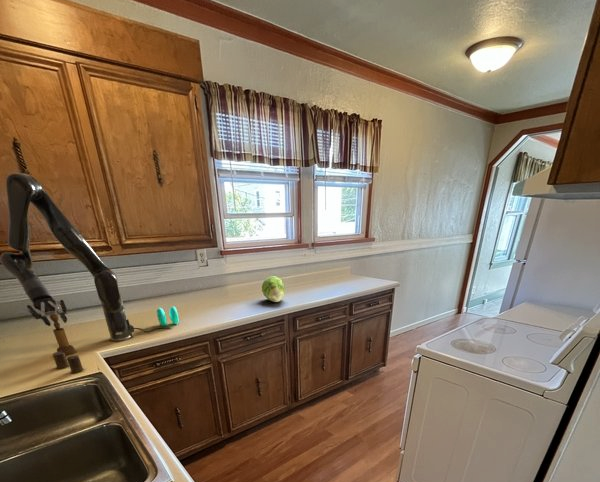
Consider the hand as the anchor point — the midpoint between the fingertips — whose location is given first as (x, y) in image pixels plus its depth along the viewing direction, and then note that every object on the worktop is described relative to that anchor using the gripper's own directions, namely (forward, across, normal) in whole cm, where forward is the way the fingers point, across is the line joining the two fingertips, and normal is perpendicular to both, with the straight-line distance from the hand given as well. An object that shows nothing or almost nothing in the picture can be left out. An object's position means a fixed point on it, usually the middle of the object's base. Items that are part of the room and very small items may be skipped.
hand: (57, 323), depth 140 cm
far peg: (+27, -6, -7) cm, 28 cm away
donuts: (+8, +54, +12) cm, 56 cm away
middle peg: (+20, -8, 0) cm, 21 cm away
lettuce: (+16, +135, +4) cm, 136 cm away
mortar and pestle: (+9, 0, +11) cm, 15 cm away
